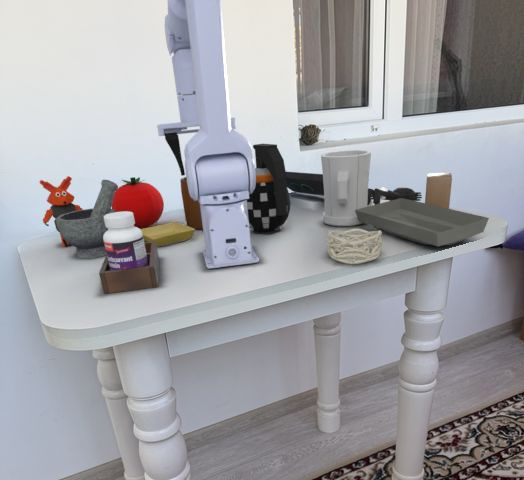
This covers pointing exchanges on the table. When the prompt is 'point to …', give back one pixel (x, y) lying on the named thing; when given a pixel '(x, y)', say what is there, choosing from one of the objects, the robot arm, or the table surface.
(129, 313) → the table surface
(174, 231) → the saucer
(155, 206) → the tomato
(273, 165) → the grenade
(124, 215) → the pill bottle
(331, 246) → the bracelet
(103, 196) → the mortar and pestle
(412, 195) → the figurine
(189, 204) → the mug
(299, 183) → the smart home device
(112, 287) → the rack
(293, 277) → the table surface
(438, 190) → the wooden block
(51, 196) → the toy animal
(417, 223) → the grey tray
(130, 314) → the table surface
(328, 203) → the cup
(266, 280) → the table surface
